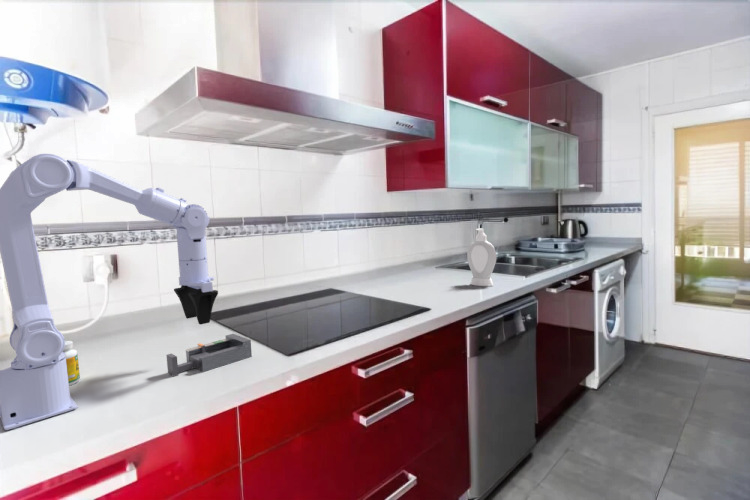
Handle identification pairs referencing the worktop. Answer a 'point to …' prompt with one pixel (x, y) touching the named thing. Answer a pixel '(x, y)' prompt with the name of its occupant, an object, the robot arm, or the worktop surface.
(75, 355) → the supplement bottle
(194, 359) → the grey hook
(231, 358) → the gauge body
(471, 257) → the soap bottle
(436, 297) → the worktop surface
